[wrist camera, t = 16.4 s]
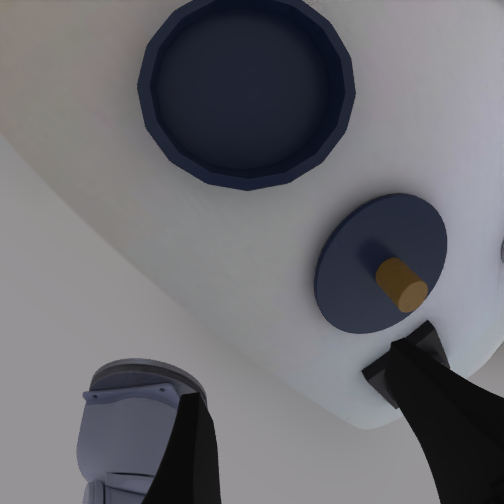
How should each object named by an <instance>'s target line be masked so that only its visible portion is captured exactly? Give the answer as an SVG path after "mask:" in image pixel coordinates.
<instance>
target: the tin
mask: <svg viewBox="0 0 504 504" xmlns="http://www.w3.org/2000/svg"><path fill="white" fill-rule="evenodd" d="M137 86H138V87H137V90H138V95H139V100H140V105H141V109H142V114H143V119H144V123H145V127H146V129H147V131H148V132H149V133H150V135H151V136H152V137H153V139H154V140H155V142H156V143H157V144H158V146H159V147H160V148H161V150H162V151H163V153H164V154H165V155H166V157H167V158H168V159H169V161H171V162H172V163H173V164H175V165H176V166H178V167H180V168H181V169H183V170H185V171H186V172H188V173H190V174H191V175H193V176H195V177H196V178H198V179H200V180H201V181H203V182H204V183H207V184H210V185H216V186H222V187H228V188H233V189H239V190H245V191H251V190H256V189H261V188H266V187H272V186H277V185H282V184H287V183H290V182H292V181H293V180H295V179H296V178H298V177H300V176H301V175H303V174H304V173H306V172H308V171H309V170H311V169H313V168H314V167H316V166H318V165H319V164H321V163H322V162H323V161H324V160H325V159H326V157H327V156H328V155H329V153H330V152H331V151H332V149H333V148H334V147H335V145H336V144H337V143H338V141H339V140H340V139H341V137H342V136H343V135H344V134H345V131H346V130H347V126H348V122H349V119H350V115H351V111H352V107H353V104H354V100H355V95H356V91H355V83H354V76H353V69H352V62H351V57H350V55H349V53H348V51H347V49H346V48H345V46H344V44H343V42H342V41H341V39H340V37H339V36H338V34H337V32H336V31H335V29H334V27H333V26H332V24H331V23H330V22H329V21H328V20H327V19H326V18H324V17H323V16H322V15H321V14H319V13H318V12H317V11H315V10H314V9H313V8H311V7H310V6H309V5H307V4H306V3H305V2H303V1H302V0H193V1H191V2H189V3H187V4H185V5H184V6H182V7H180V8H178V9H177V10H175V11H174V12H173V13H172V14H171V15H170V16H169V17H168V19H167V20H166V21H165V22H164V24H163V25H162V26H161V27H160V29H159V30H158V31H157V32H156V34H155V35H154V36H153V38H152V39H151V40H150V42H149V43H148V46H147V47H146V50H145V54H144V58H143V62H142V66H141V70H140V75H139V79H138V84H137Z"/></svg>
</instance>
